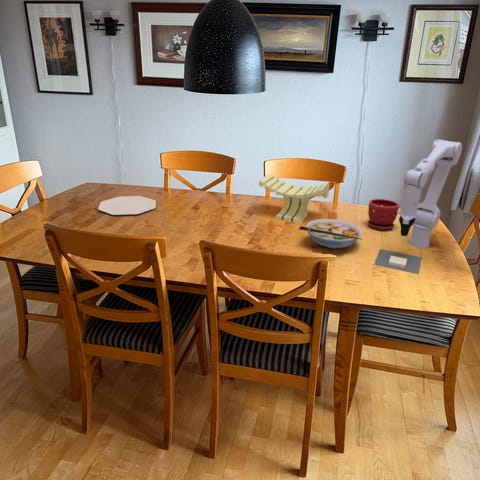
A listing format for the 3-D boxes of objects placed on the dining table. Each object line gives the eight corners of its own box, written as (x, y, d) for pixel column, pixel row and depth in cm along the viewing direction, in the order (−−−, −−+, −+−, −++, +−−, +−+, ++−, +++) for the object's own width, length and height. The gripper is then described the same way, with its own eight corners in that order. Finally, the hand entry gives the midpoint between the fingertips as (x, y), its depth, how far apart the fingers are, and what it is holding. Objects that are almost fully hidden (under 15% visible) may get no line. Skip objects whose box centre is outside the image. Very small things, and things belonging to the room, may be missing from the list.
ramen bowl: (366, 240, 182) (369, 223, 179) (356, 262, 163) (360, 242, 160) (309, 230, 192) (311, 213, 188) (294, 249, 172) (296, 230, 169)
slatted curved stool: (325, 215, 209) (330, 180, 202) (317, 226, 196) (322, 189, 189) (268, 206, 220) (270, 172, 213) (257, 215, 207) (259, 180, 200)
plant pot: (400, 229, 196) (405, 204, 191) (380, 234, 190) (385, 208, 185) (379, 219, 207) (383, 196, 202) (359, 224, 200) (363, 200, 195)
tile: (390, 255, 164) (388, 261, 159) (407, 258, 162) (405, 265, 157) (390, 258, 165) (388, 265, 160) (406, 262, 163) (404, 268, 158)
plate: (130, 195, 231) (130, 192, 230) (167, 206, 216) (167, 203, 216) (87, 208, 210) (87, 205, 210) (124, 221, 196) (124, 218, 195)
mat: (379, 250, 173) (380, 248, 173) (421, 259, 167) (421, 257, 167) (373, 266, 160) (373, 264, 160) (418, 276, 154) (418, 274, 154)
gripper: (401, 195, 166) (395, 227, 172) (397, 205, 154) (390, 240, 160) (420, 198, 163) (413, 230, 169) (417, 209, 151) (410, 243, 157)
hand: (403, 235), depth 164 cm, fingers closed
